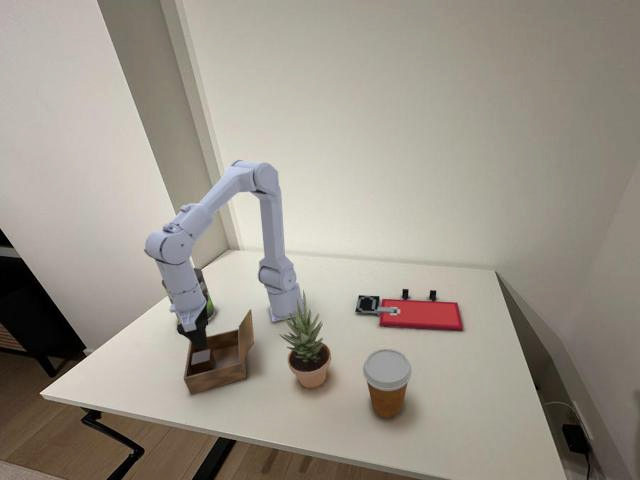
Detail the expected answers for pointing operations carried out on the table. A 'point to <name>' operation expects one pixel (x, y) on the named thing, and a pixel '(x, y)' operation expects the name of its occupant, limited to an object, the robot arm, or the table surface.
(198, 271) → the coffee can
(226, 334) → the wooden box
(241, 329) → the flap
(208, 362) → the block
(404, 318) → the red board with handle
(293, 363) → the potted plant
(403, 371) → the disposable coffee cup
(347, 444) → the table surface
